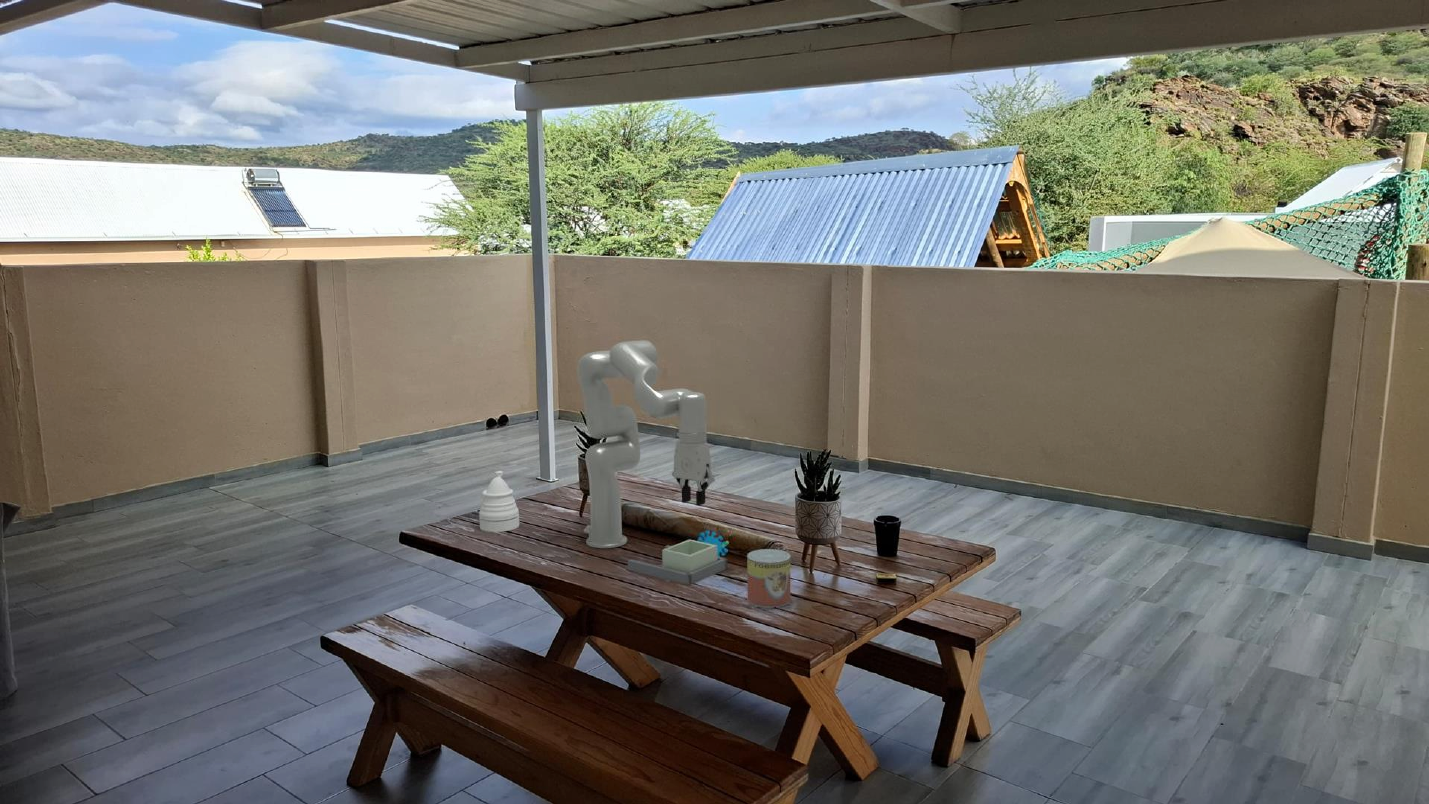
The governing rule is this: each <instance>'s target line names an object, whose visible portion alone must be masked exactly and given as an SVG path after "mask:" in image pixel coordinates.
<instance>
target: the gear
mask: <svg viewBox="0 0 1429 804" xmlns="http://www.w3.org/2000/svg"><path fill="white" fill-rule="evenodd" d="M715 536H717V532H716V531H712V532H711V535H710V531H709V530H706V529H705V531H704V532H700V533H699V537H698V538H697V540H696V541H699V542H703V543H708V544H713V545H717V557H721V556H726V554H727V553H728V551H729V550H728V548H726V547H727V546H728V545H729V544H730V541H728V540H726V541H723V542H722V540H723V539H724V538H723V536H722V535H719V536H718V537H715Z"/></svg>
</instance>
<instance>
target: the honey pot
mask: <svg viewBox="0 0 1429 804" xmlns="http://www.w3.org/2000/svg"><path fill="white" fill-rule="evenodd" d="M494 473H495V475H496V477H494V478H492V480H490V482H489V484H488V486H487V488H486V489H484V490H483V491H482V492H481V493H482V496H483V499H482V501H481V505H480V510H479V512H478V514H479V515H478V516H479V529H480V530H481V531H484V532H492V533H499V532H500V533H501V532H507V531H511V530H516V529H517V528H519V527H520V515H519V513H520V512H519V511H520V510H519V507H517V503H516V500H515V498H514V496H513V494H514V490H513V488H509V486H508V484H507V482H506V481H505V480H504V479H503V478H502V477H503V476H504V471H503V470H498V471H495V472H494Z"/></svg>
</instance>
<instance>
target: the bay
mask: <svg viewBox="0 0 1429 804" xmlns="http://www.w3.org/2000/svg"><path fill="white" fill-rule="evenodd" d="M671 546H672V545H668V544H667V545H665V546H664V549H666V548H669V547H671ZM728 568H729V567H728V558H726V557H721V556H720V557H717V561H716V562H714V563H711V564H709V565H707V566H704V567H702V568H700V569H697V570H695V571H693V572H690V573H684V572H680V571H676V570H672V569H668V568H664V567H663V566H660V565H656V564H655V565H654V564H652V563H648V562H644V561H640V560H635V559H628V560H627V570H628V571H631V572H635V573H640V574H644V575H647V576H651V577H654V578H659V579H663V580H667V581H671V582H675V583H679V584H682V585H686V586H691V585H693V584H695V583H697V582H699V581H702V580H704V579H707V578H709V577H711V576H714V575H715V574H718V573H720V572H721V571H725V570H726V569H728Z"/></svg>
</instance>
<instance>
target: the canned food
mask: <svg viewBox="0 0 1429 804" xmlns="http://www.w3.org/2000/svg"><path fill="white" fill-rule="evenodd" d="M746 558H747V564H746V565H747V569H746V571H747V572H746V573H747V577H746V579H747V598H746V600H747V603H748V604H750V605H751V606H753V607H757V608H758V607H759V608H763V609H774V607H776V608H780V607H779V606H782V607H785V606H787V605H789V604H790V603H791V600H792V599H791V558H792V555H791V554H790V553H789V552H788V551H785V550H780V549H776V548H775V549H773V548H763V549H756V550H752V551H750V552H748V553H747V555H746ZM788 603H789V604H788ZM786 604H787V605H786ZM784 605H785V606H784Z"/></svg>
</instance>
